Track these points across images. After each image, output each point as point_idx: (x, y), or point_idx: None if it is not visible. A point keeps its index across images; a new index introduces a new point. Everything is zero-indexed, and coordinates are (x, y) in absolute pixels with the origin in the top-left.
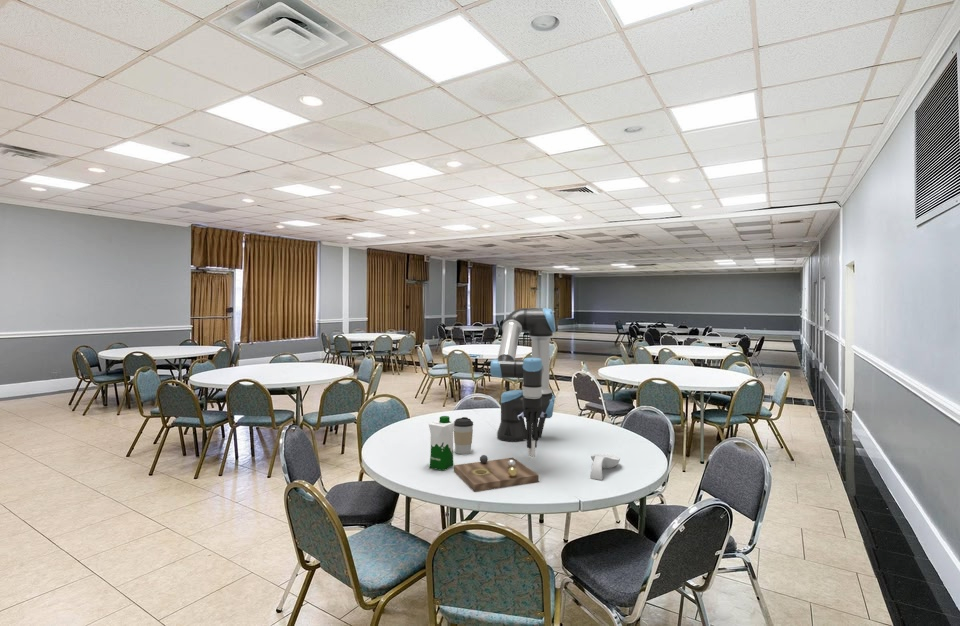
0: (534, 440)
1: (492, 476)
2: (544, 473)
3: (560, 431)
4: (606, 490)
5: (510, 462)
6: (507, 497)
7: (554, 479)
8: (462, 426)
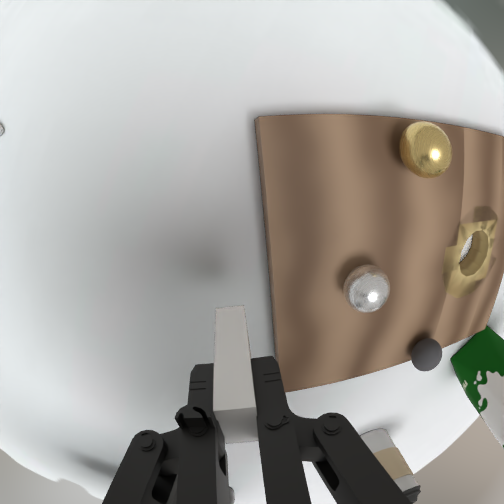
0: (221, 411)
1: (469, 189)
2: (171, 232)
3: (78, 475)
4: (23, 9)
5: (386, 279)
6: (440, 35)
7: (150, 133)
8: (412, 488)
